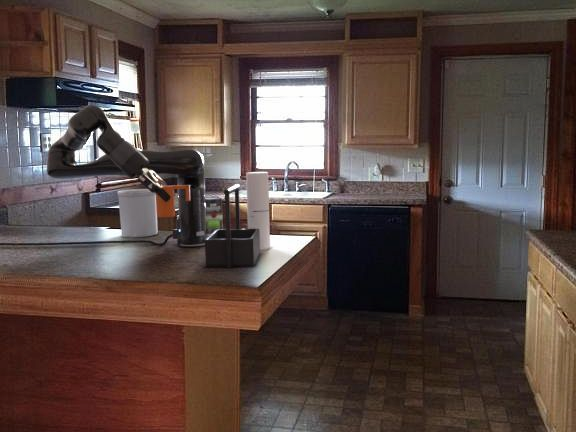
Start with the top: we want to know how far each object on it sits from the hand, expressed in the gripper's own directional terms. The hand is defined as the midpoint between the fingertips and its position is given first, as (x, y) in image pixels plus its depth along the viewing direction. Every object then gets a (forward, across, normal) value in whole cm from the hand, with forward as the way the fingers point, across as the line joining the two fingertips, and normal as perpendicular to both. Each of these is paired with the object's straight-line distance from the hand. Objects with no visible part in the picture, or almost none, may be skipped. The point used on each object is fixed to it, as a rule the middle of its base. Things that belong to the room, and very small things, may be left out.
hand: (171, 198), depth 189 cm
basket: (+26, 0, 0) cm, 26 cm away
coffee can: (+15, -57, -12) cm, 60 cm away
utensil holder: (-5, -59, -32) cm, 67 cm away
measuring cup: (+4, 0, -3) cm, 5 cm away
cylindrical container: (+30, -21, +3) cm, 37 cm away
